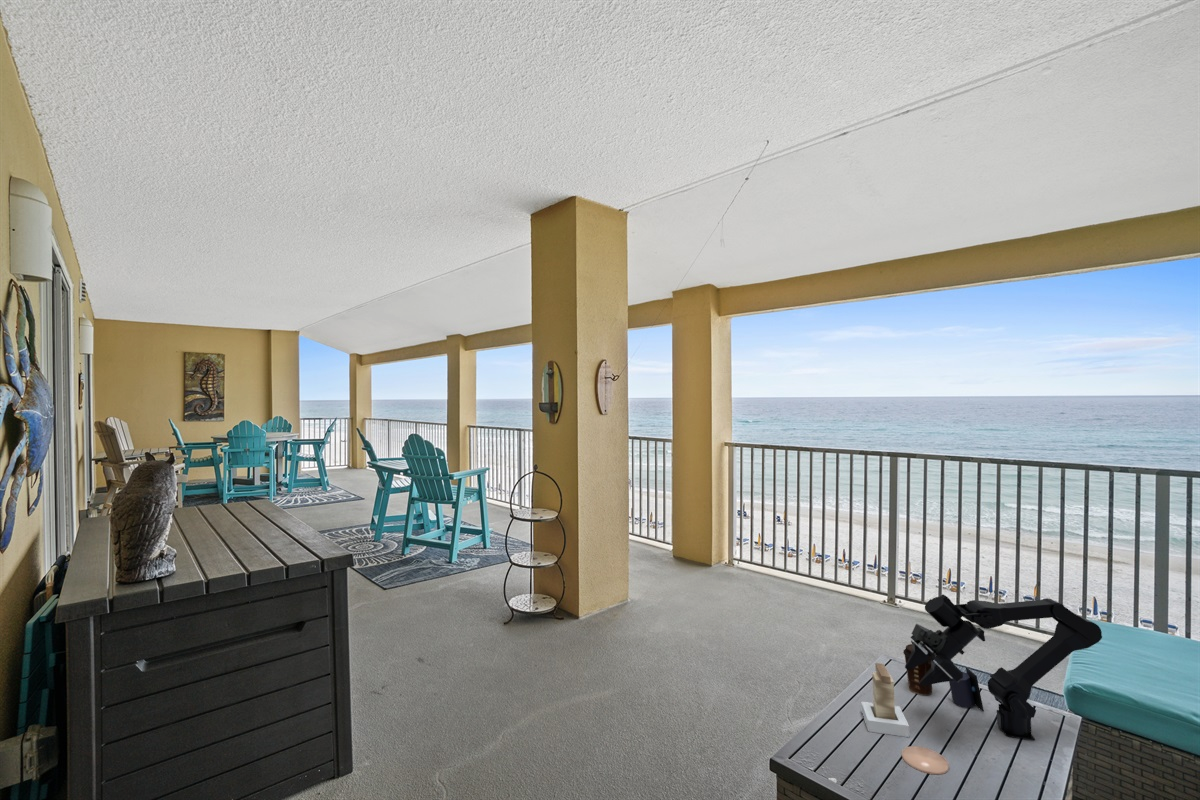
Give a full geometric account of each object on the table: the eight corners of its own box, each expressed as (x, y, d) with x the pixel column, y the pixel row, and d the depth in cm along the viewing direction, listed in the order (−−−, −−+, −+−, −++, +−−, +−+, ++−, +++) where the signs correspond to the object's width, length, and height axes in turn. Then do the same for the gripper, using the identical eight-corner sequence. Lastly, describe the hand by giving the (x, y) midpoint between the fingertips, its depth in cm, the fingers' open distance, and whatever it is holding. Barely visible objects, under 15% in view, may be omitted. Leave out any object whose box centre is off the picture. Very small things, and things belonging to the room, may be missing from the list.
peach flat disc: (941, 752, 135) (941, 749, 135) (955, 777, 126) (955, 775, 126) (897, 745, 138) (897, 743, 138) (907, 770, 129) (907, 767, 129)
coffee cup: (933, 686, 168) (931, 644, 169) (940, 699, 160) (938, 656, 161) (902, 682, 171) (900, 641, 172) (907, 695, 163) (906, 652, 164)
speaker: (981, 701, 158) (975, 666, 159) (984, 712, 153) (978, 676, 154) (951, 698, 162) (945, 664, 162) (953, 708, 157) (947, 673, 157)
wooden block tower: (890, 717, 151) (888, 664, 152) (897, 733, 144) (895, 677, 144) (872, 715, 152) (870, 662, 153) (878, 731, 145) (876, 675, 145)
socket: (899, 717, 151) (899, 706, 151) (909, 737, 142) (909, 725, 142) (861, 712, 154) (861, 701, 154) (868, 731, 145) (868, 720, 145)
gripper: (916, 604, 156) (878, 640, 158) (948, 629, 138) (904, 670, 139) (946, 633, 155) (907, 669, 156) (982, 662, 136) (937, 702, 138)
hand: (913, 676), depth 147 cm, fingers open, 9 cm apart
